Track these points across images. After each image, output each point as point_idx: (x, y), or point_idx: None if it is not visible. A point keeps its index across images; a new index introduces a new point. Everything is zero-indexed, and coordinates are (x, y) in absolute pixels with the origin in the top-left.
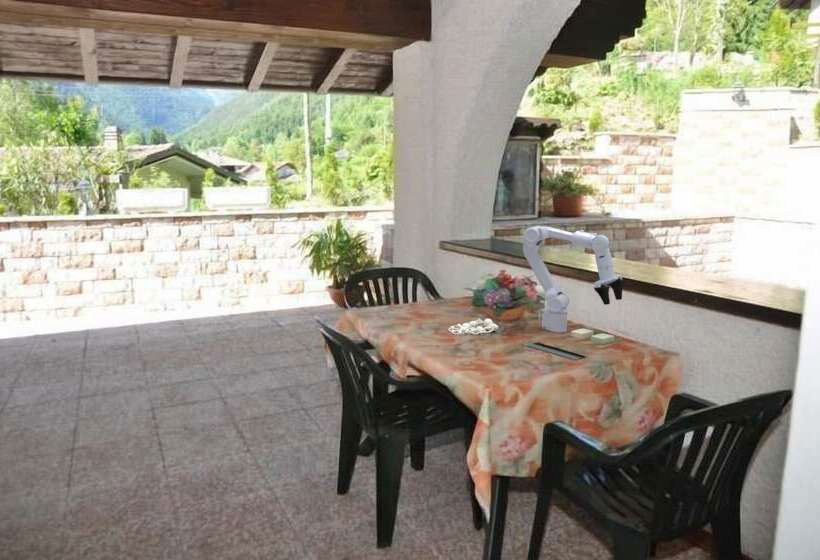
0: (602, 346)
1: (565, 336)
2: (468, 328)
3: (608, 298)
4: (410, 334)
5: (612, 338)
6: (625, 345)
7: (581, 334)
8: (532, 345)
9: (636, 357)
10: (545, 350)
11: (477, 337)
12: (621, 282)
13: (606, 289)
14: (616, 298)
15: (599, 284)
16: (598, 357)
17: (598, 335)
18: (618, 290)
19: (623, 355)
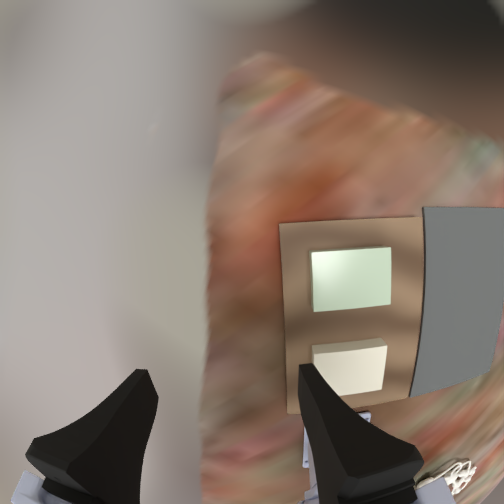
0: (402, 225)
1: (391, 384)
2: (456, 482)
3: (324, 390)
4: (495, 473)
5: (321, 250)
6: (272, 220)
7: (386, 346)
8: (486, 363)
9: (360, 109)
10: (501, 313)
11: (474, 450)
12: (71, 458)
13: (393, 444)
14: (155, 402)
15: (442, 501)
16: (452, 185)
17: (360, 295)
18: (124, 429)
19: (380, 146)
